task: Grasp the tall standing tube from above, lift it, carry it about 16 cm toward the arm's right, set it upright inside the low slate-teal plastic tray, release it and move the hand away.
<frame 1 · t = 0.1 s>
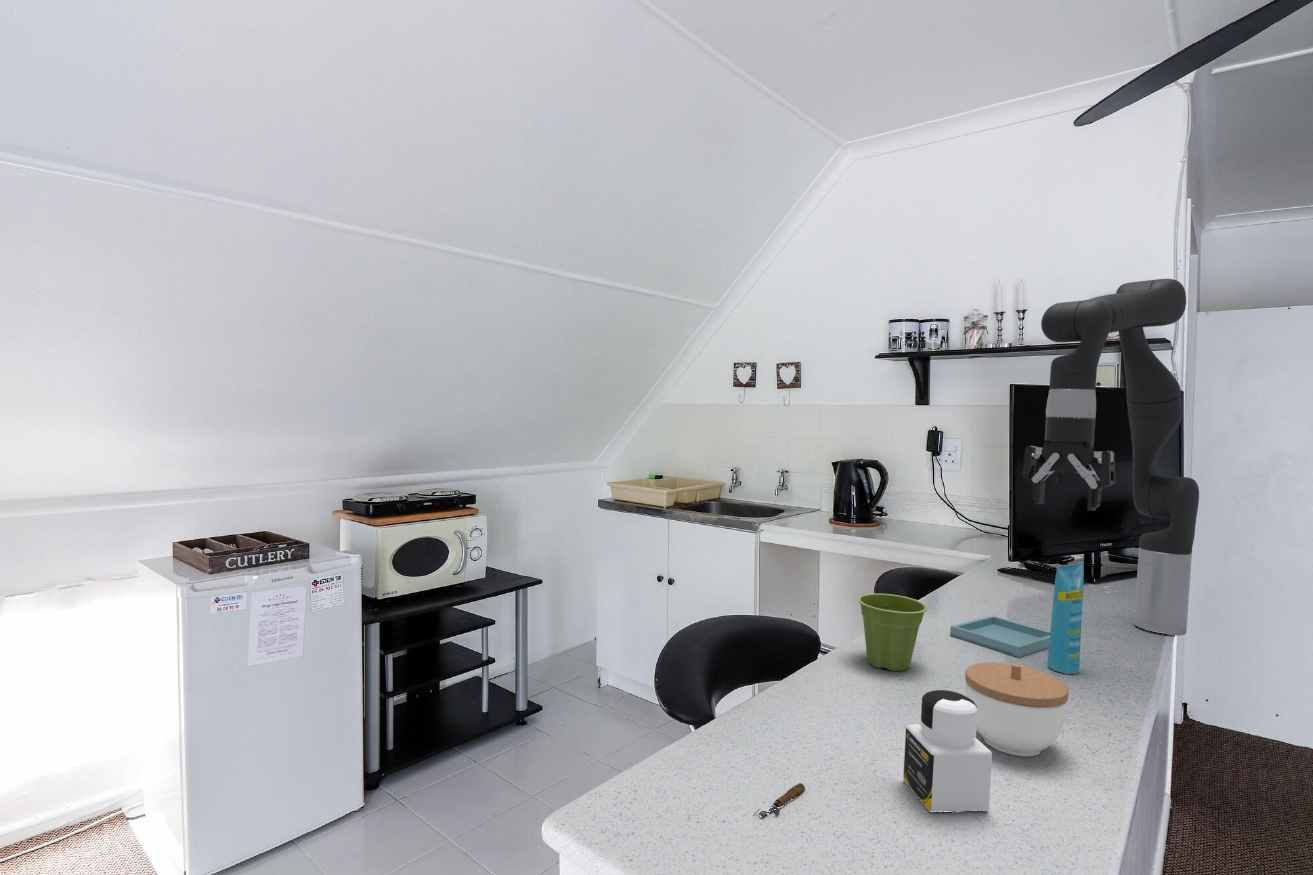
hand: (1064, 506, 124), 29 cm above the table, tool pointing down, fingers open, 8 cm apart
tube: (1064, 670, 125), on the table
plant pot: (888, 665, 125), on the table
medicine bottle: (944, 797, 83), on the table
tray: (1004, 640, 141), on the table
lidded bowl: (1011, 745, 97), on the table
can opener: (779, 807, 80), on the table
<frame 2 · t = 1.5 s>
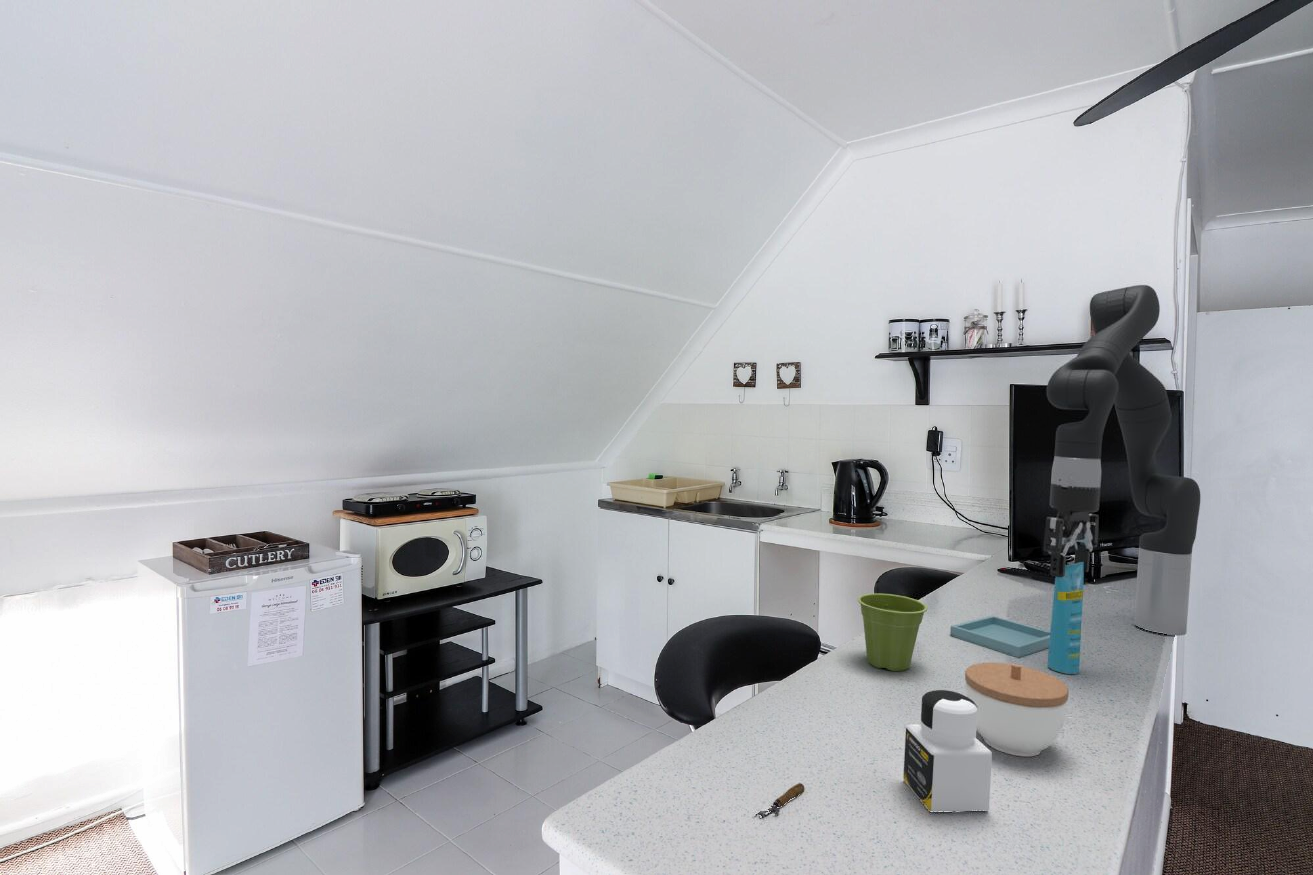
hand: (1069, 573, 125), 17 cm above the table, tool pointing down, fingers open, 8 cm apart
nothing on the table moved.
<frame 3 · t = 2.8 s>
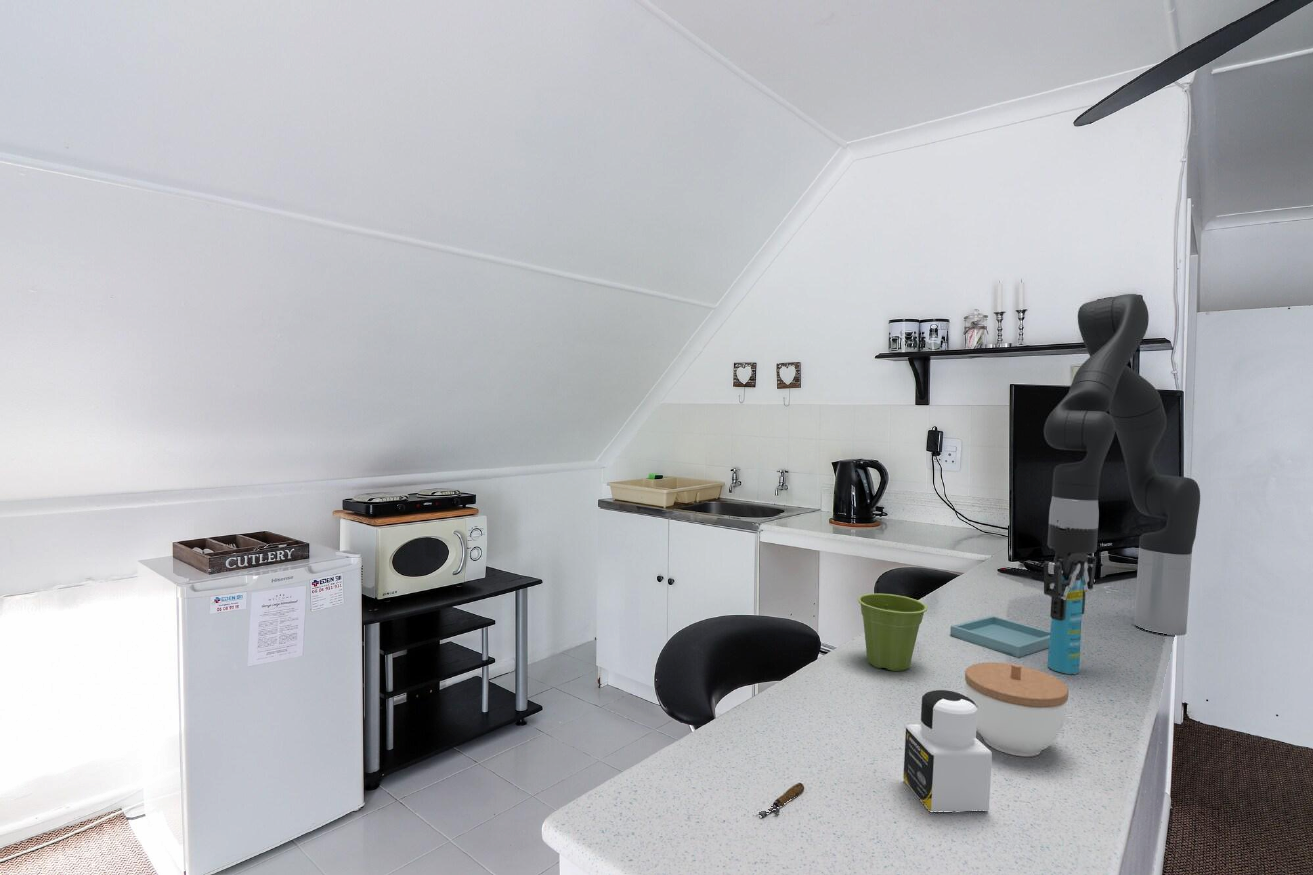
hand: (1067, 616, 125), 10 cm above the table, tool pointing down, fingers closed on tube, 6 cm apart
tube: (1064, 670, 125), on the table, touching gripper
everything else where it was.
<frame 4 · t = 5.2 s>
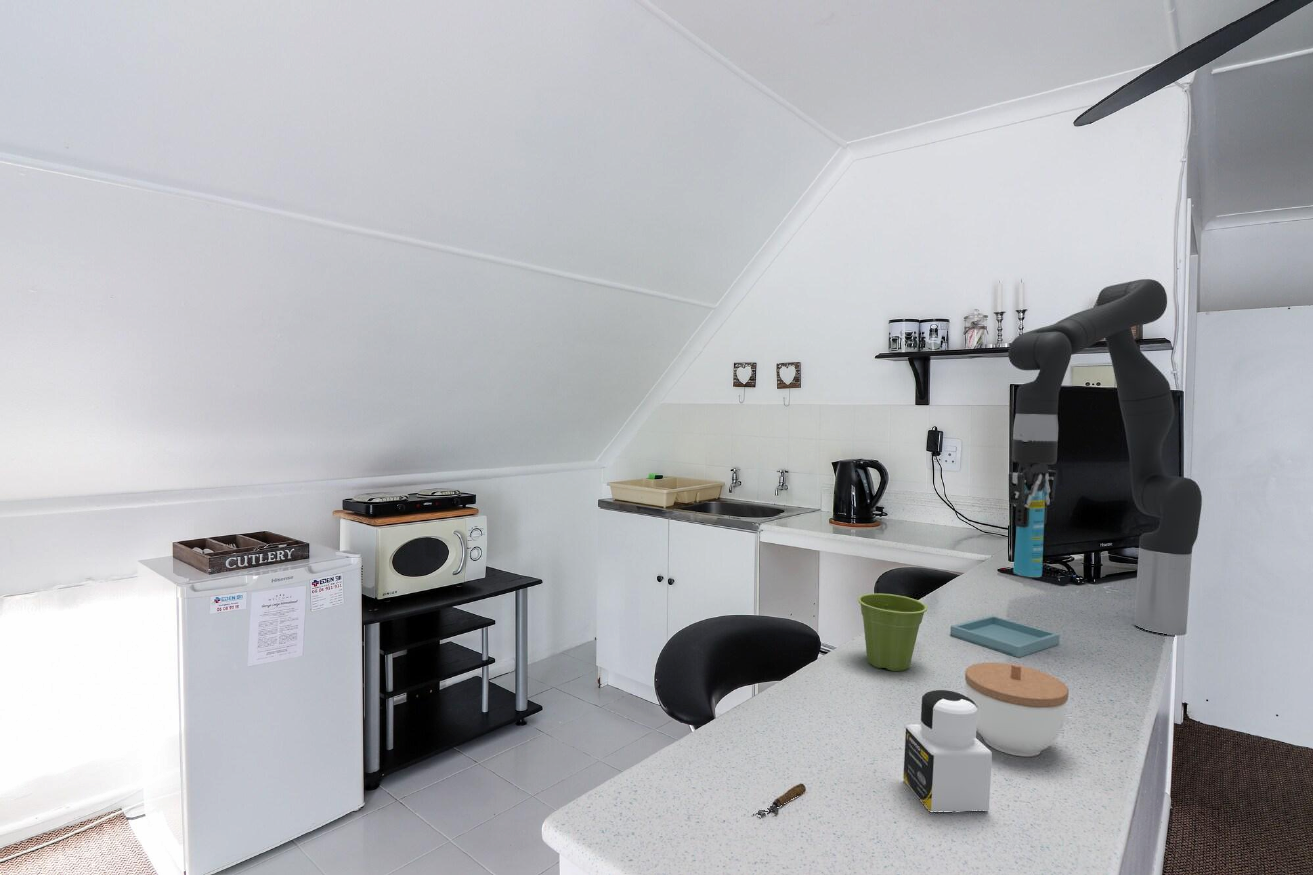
hand: (1030, 524, 135), 24 cm above the table, tool pointing down, fingers closed on tube, 6 cm apart
tube: (1028, 575, 135), point 14 cm above the table, touching gripper
everything else where it was.
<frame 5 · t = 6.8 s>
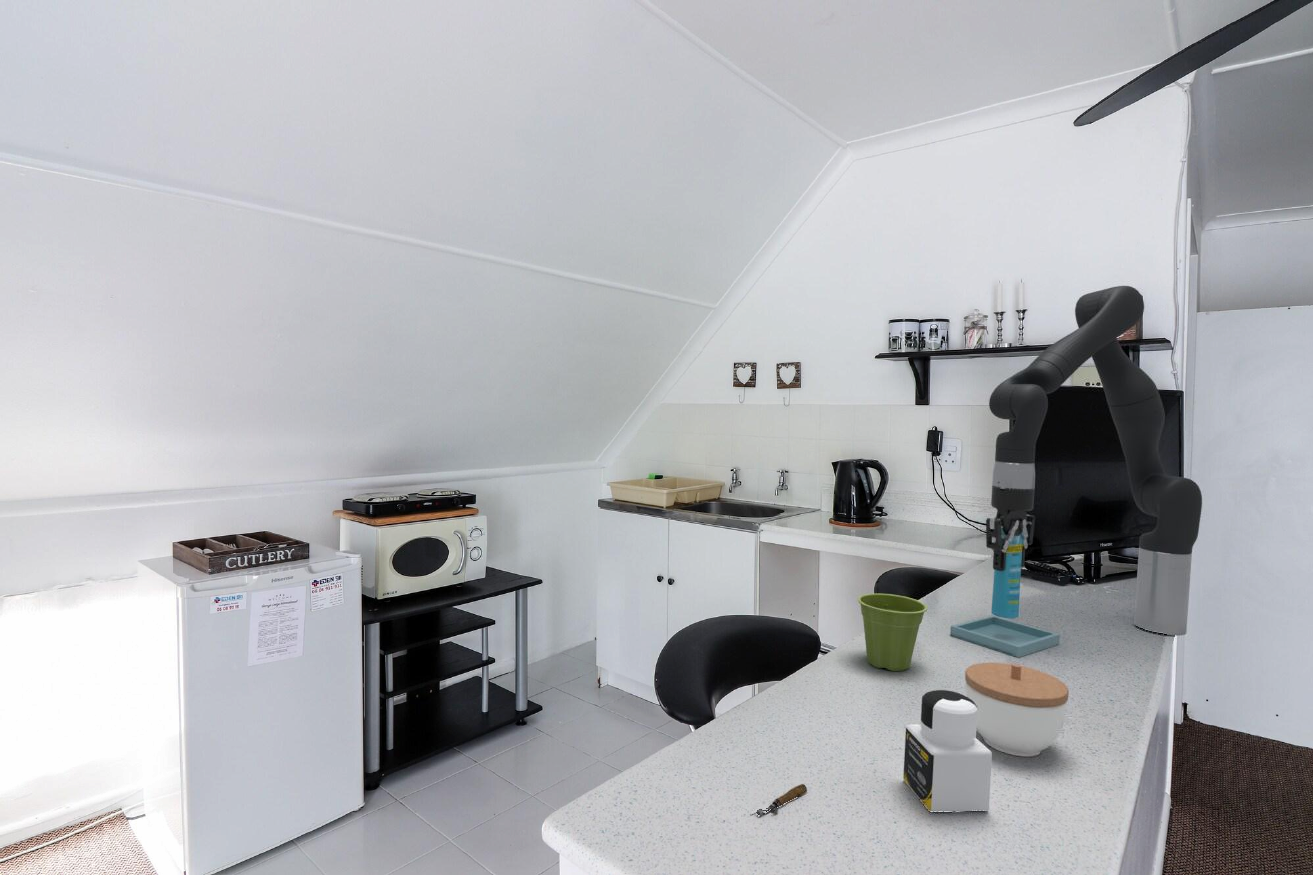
hand: (1008, 568, 140), 15 cm above the table, tool pointing down, fingers closed on tube, 6 cm apart
tube: (1005, 616, 141), point 5 cm above the table, touching gripper
everything else where it was.
when the fingers open (11 cm above the table, at t = 8.0 s): tube stays where it is, resting on tray.
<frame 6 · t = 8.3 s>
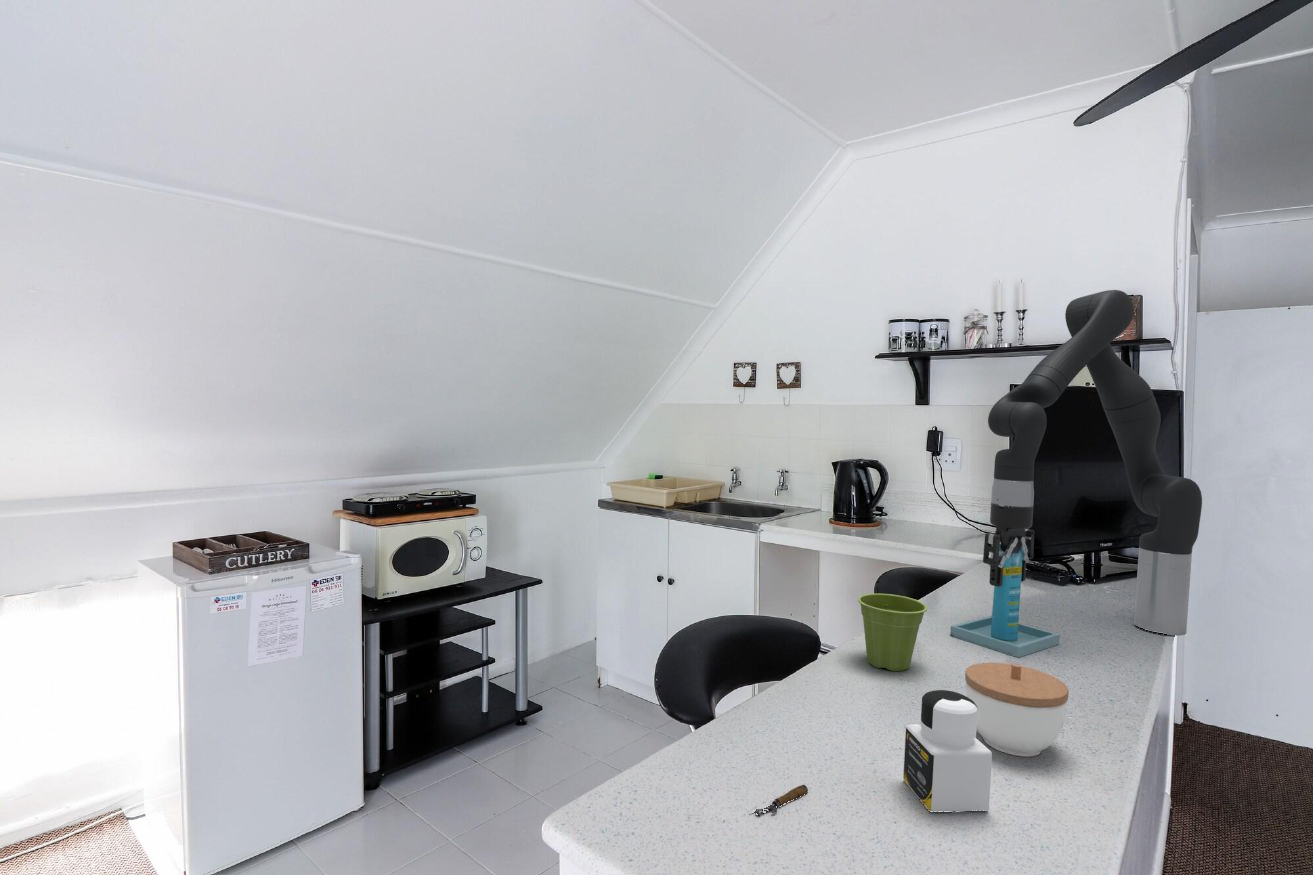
hand: (1007, 583, 140), 12 cm above the table, tool pointing down, fingers open, 8 cm apart
tube: (1004, 638, 141), resting on tray
everything else where it was.
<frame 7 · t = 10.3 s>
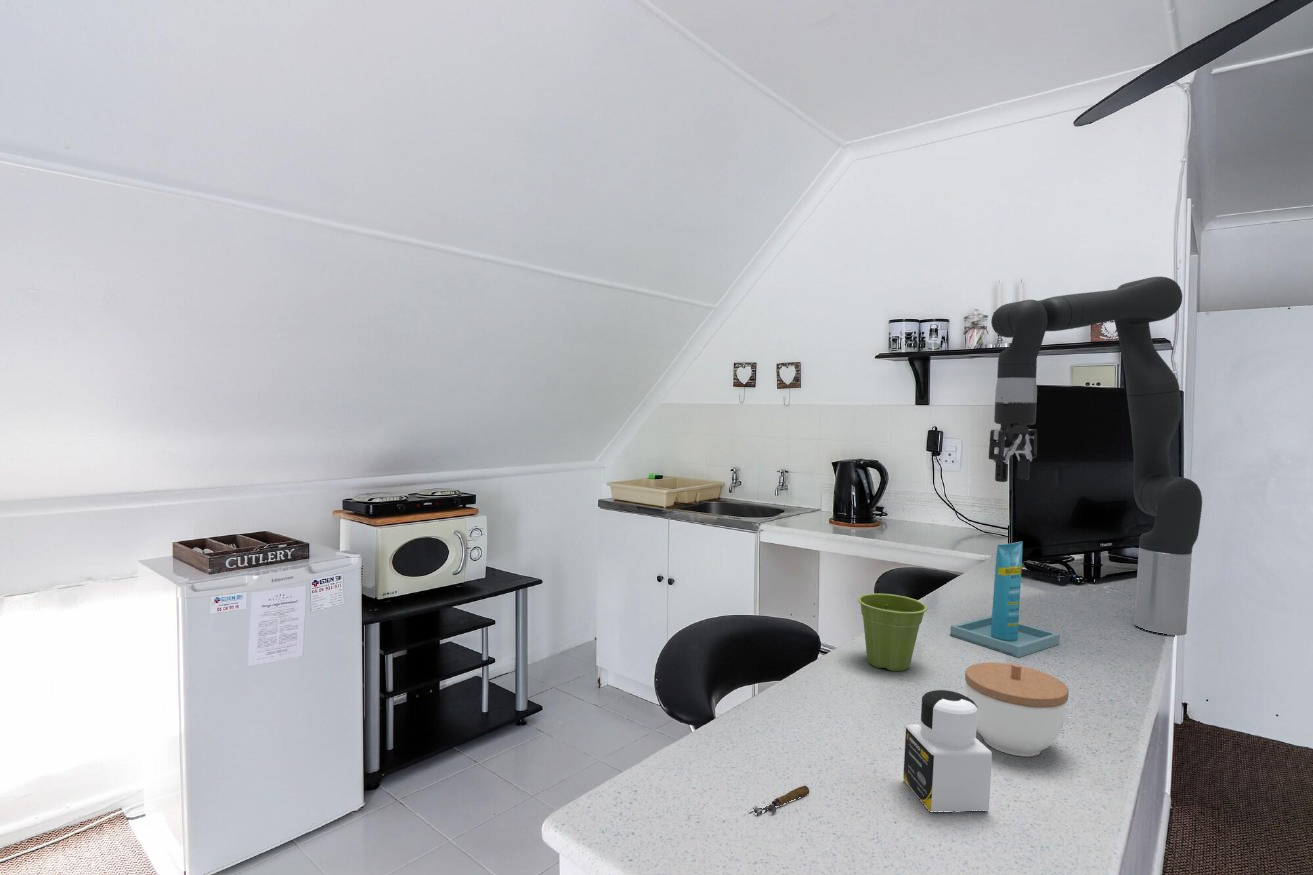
hand: (1012, 480, 143), 32 cm above the table, tool pointing down, fingers open, 8 cm apart
nothing on the table moved.
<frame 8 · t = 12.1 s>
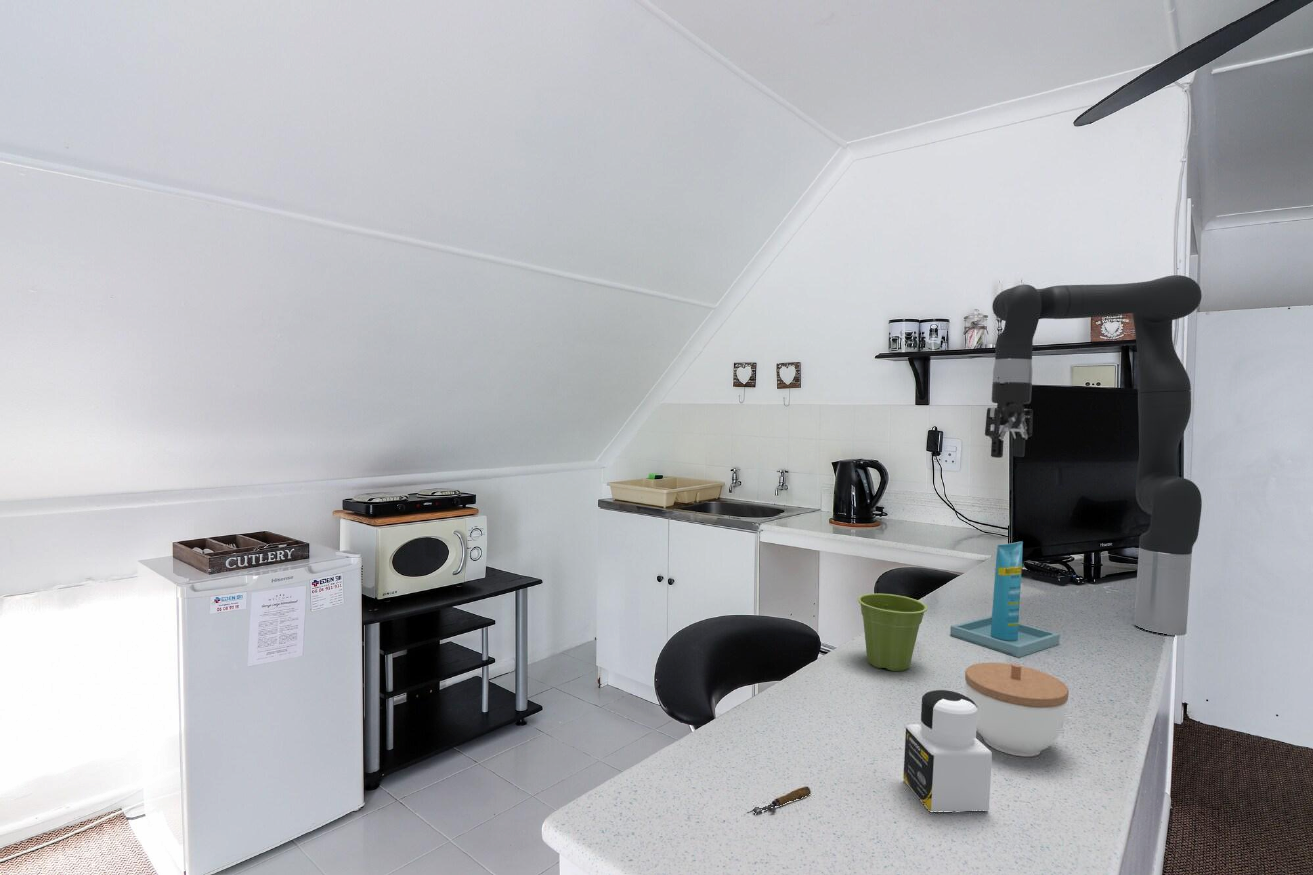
hand: (1007, 457, 150), 36 cm above the table, tool pointing down, fingers open, 8 cm apart
nothing on the table moved.
at the end: tube inside the target area on the tray (0.2 cm from its centre), point 0.3 cm above the tray's base; tube tilted 0°; the gripper is holding nothing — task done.
